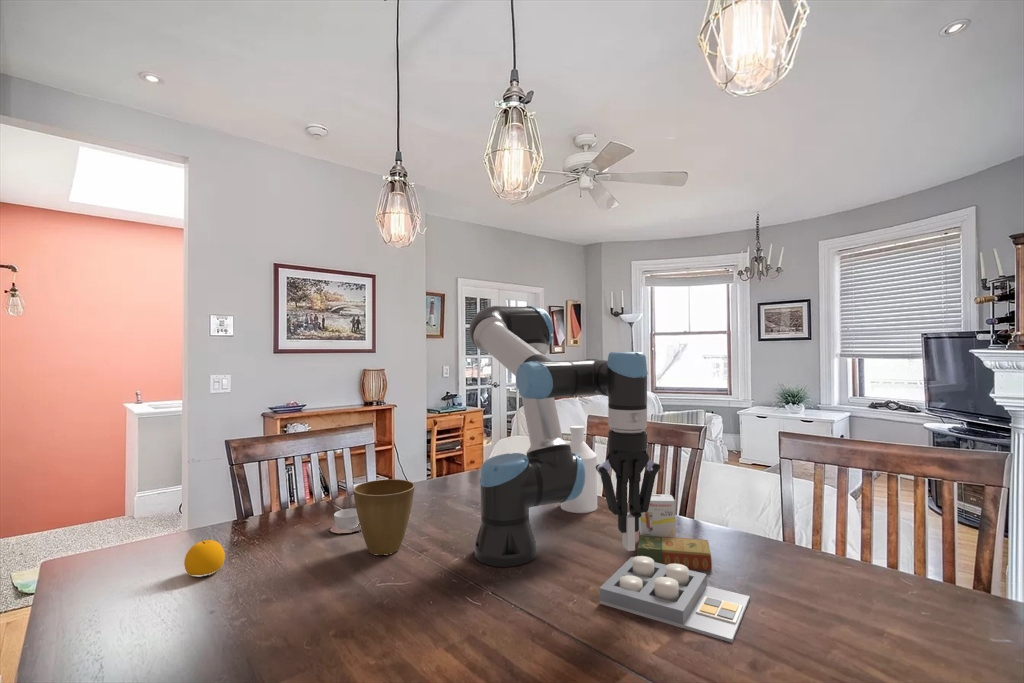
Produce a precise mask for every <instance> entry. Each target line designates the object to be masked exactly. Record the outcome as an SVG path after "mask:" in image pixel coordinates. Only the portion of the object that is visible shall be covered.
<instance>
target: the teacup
mask: <svg viewBox="0 0 1024 683" xmlns="http://www.w3.org/2000/svg"><path fill="white" fill-rule="evenodd" d="M333 517H334V523H335V525H336V526H337V527H338V528H339V529H352V528H355V527H357V526H358V524H359V519H358V515H357V510H356V508H346V509H341V510H338V511H336V512H335V513H334V514H333Z"/></svg>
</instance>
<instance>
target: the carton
mask: <svg viewBox="0 0 1024 683" xmlns="http://www.w3.org/2000/svg"><path fill="white" fill-rule="evenodd" d="M637 544H638V545H637V554H636V555H637V556H646V557H649V558H652V559H653V560H654V562H656V563H661V564H665V565H668V564H681V565H684V566H686V567H687V568H688V569H689V570H691V569H692V570H700V571H713V570H712V565H713V564H712V563H713V562H712V561H713V560H712V554H711V550H710V544H709V540H708V539H699V538H684V537H676V538H673V537H660V536H646V535H639V534H638V542H637ZM637 556H636V557H637Z"/></svg>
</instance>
